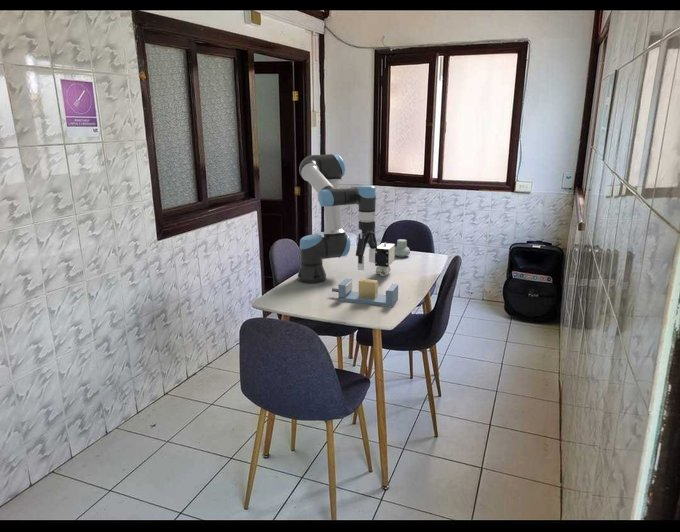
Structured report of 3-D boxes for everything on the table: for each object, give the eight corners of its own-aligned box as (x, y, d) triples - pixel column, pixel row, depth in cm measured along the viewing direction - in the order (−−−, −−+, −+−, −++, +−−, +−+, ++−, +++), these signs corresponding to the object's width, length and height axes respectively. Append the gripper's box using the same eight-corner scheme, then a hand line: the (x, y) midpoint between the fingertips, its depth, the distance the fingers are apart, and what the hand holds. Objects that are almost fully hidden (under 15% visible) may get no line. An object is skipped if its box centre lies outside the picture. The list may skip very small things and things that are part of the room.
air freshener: (411, 257, 300) (411, 241, 297) (398, 258, 298) (398, 242, 295) (404, 253, 310) (405, 238, 307) (392, 254, 308) (392, 238, 305)
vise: (338, 300, 229) (338, 285, 227) (345, 293, 238) (345, 278, 236) (392, 306, 220) (392, 291, 218) (398, 299, 229) (398, 284, 227)
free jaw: (328, 295, 230) (328, 283, 228) (336, 289, 239) (336, 277, 237) (345, 297, 227) (345, 285, 225) (352, 290, 236) (352, 279, 234)
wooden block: (358, 297, 228) (358, 281, 226) (361, 294, 232) (361, 278, 229) (375, 299, 225) (375, 282, 223) (377, 296, 229) (377, 280, 227)
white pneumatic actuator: (380, 269, 276) (381, 238, 272) (395, 270, 274) (396, 239, 269) (371, 278, 260) (371, 246, 255) (386, 280, 257) (387, 247, 252)
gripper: (364, 226, 206) (364, 274, 212) (384, 216, 228) (383, 259, 234) (348, 225, 209) (348, 272, 215) (369, 215, 231) (368, 258, 237)
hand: (366, 266), depth 225 cm, fingers open, 13 cm apart
